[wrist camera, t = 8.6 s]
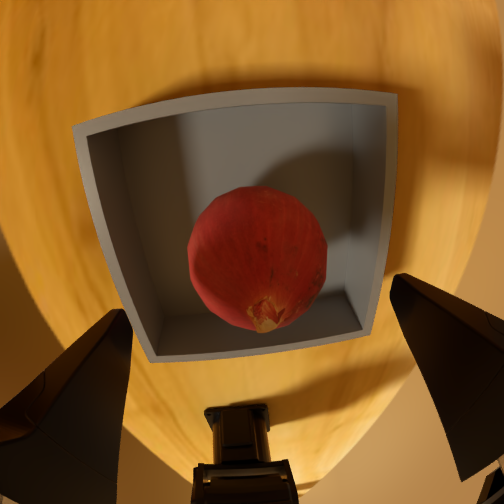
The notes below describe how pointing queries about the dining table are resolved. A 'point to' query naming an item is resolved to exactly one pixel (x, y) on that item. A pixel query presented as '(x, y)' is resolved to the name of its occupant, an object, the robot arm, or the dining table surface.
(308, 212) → the onion
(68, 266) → the dining table surface
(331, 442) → the dining table surface
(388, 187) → the bin
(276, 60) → the dining table surface
